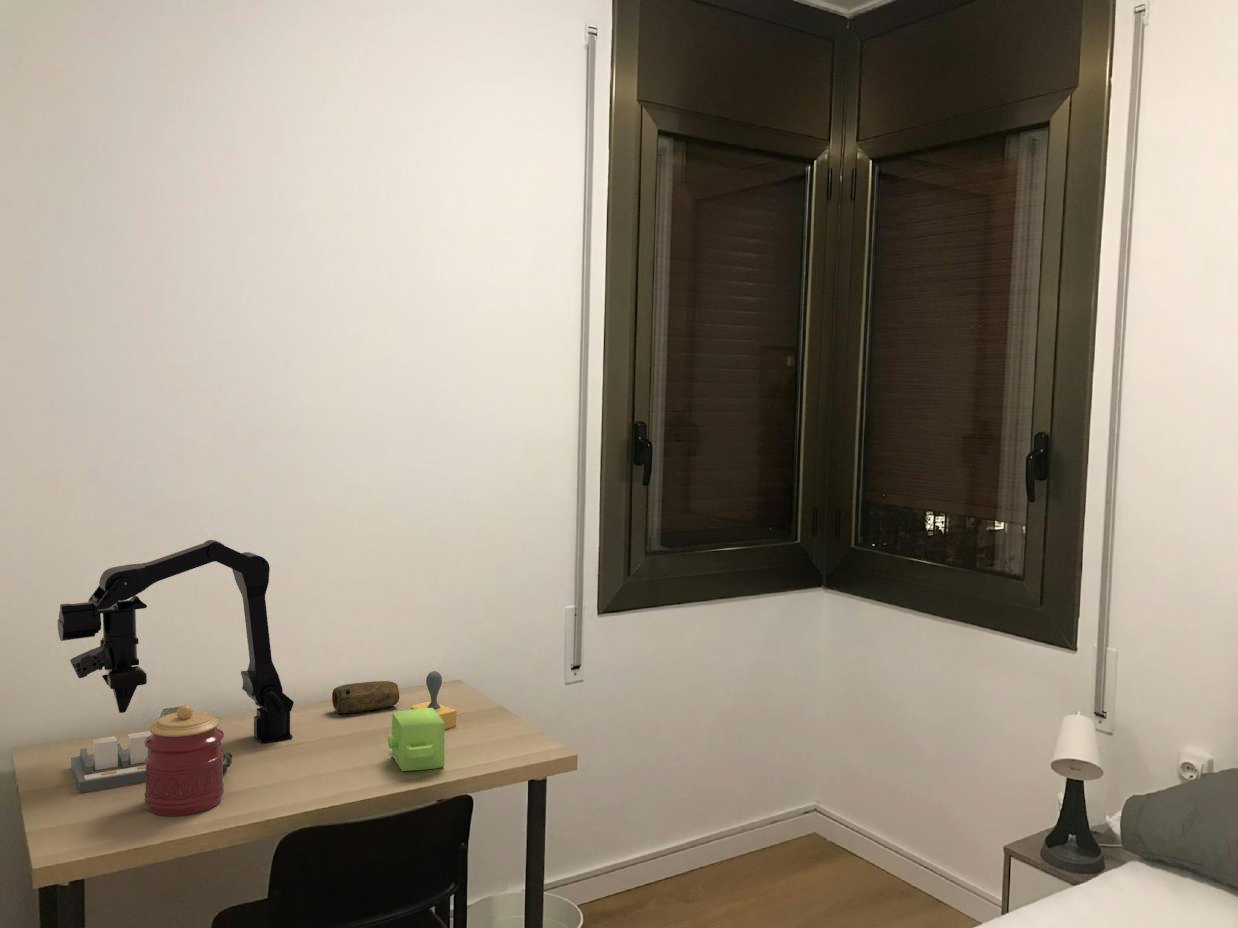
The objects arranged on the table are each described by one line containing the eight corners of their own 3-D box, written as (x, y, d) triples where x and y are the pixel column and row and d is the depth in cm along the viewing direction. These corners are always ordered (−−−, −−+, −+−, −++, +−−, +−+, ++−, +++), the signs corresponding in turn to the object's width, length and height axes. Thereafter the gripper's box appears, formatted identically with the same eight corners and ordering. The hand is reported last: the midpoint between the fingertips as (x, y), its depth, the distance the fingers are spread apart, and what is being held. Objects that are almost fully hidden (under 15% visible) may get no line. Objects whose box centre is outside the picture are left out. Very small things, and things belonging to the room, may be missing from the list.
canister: (231, 808, 179) (231, 709, 178) (150, 823, 172) (150, 720, 171) (215, 784, 190) (215, 690, 189) (139, 797, 183) (138, 700, 182)
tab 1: (115, 761, 194) (115, 735, 194) (117, 766, 192) (117, 740, 191) (93, 765, 192) (93, 739, 192) (95, 770, 190) (95, 743, 189)
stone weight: (341, 719, 230) (341, 690, 229) (329, 711, 235) (329, 683, 235) (402, 708, 239) (402, 680, 239) (389, 701, 244) (389, 673, 244)
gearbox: (379, 749, 211) (380, 704, 210) (427, 744, 214) (427, 699, 214) (396, 779, 194) (397, 730, 194) (447, 773, 198) (448, 725, 197)
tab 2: (149, 756, 198) (149, 730, 197) (152, 760, 195) (152, 735, 195) (128, 759, 195) (128, 734, 195) (130, 764, 193) (130, 738, 193)
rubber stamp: (457, 726, 227) (457, 673, 226) (435, 731, 223) (436, 677, 222) (430, 716, 234) (431, 664, 233) (409, 721, 229) (410, 668, 229)
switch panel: (160, 753, 205) (160, 736, 205) (174, 776, 193) (174, 758, 193) (70, 767, 196) (70, 749, 196) (79, 793, 184) (79, 774, 184)
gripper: (67, 629, 200) (69, 706, 201) (79, 649, 185) (82, 733, 186) (129, 621, 206) (131, 697, 207) (146, 640, 191) (148, 722, 192)
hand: (122, 712), depth 198 cm, fingers closed
